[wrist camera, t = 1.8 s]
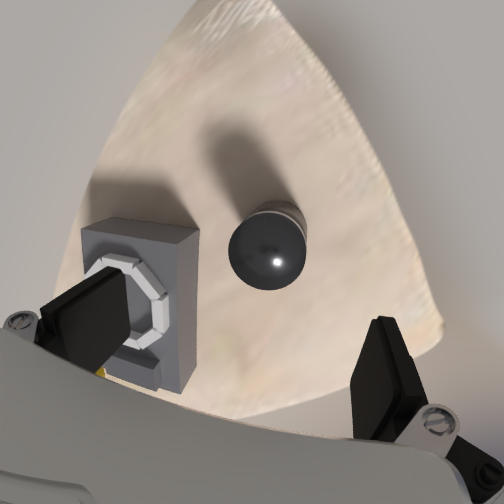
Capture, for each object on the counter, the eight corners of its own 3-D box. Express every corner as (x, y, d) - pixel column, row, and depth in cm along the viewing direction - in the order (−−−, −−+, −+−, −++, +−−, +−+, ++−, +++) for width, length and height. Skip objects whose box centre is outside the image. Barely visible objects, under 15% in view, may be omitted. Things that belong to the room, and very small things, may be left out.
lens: (302, 261, 26) (299, 296, 20) (246, 252, 27) (225, 283, 20) (311, 204, 24) (311, 221, 18) (252, 196, 25) (231, 210, 19)
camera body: (196, 365, 32) (175, 403, 26) (122, 344, 33) (94, 374, 27) (199, 229, 27) (168, 250, 21) (111, 217, 28) (70, 232, 22)
